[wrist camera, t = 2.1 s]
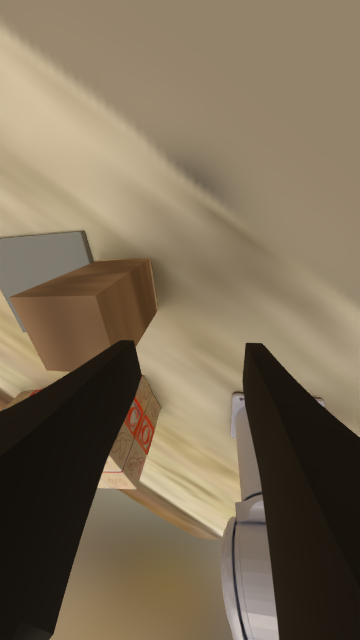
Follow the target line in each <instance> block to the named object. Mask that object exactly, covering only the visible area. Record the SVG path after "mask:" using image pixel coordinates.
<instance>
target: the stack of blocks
mask: <svg viewBox="0 0 360 640" xmlns="http://www.w3.org/2000/svg"><path fill="white" fill-rule="evenodd" d="M41 390H42V389H41ZM41 390H34V391H26V392H21V393H20V394H19V395H18V396H17V397H16V398H15V399H14V400H13V401H11V402H10V403H9V404H8V405H7V406H6V407H5V408H4V409H7V408H9V407H11V406H13V405H14V404H16V403H18V402H20V401H22V400H24V399H26V398H28V397H30V396H31V395H33V394H35V393H37V392H39V391H41ZM4 409H3V410H4ZM160 409H161V408H160V406H159V404H158V402H157V400H156V399H155V397H154V395H153V393H152V391H151V389H150V387H149V385H148V383H147V382H146V380H145V378H144V377H143V375H142V376H141V380H140V383H139V387H138V390H137V393H136V396H135V398H134V401H133V403H132V405H131V407H130V410H129V412H128V414H127V416H126V418H125V421H124V423H123V425H122V427H121V429H120V431H119V434H118V436H117V438H116V440H115V442H114V445H113V447H112V449H111V451H110V454H109V456H108V459H107V461H106V464H105V467H104V470H103V473H102V475H101V478H100V481H99V484H98V487H97V488H117V489H137V486H138V483H139V479H140V476H141V473H142V470H143V466H144V463H145V459H146V455H148V452H149V448H150V445H151V442H152V438H153V435H154V430H155V427H156V423H157V420H158V416H159V412H160Z"/></svg>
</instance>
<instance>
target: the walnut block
mask: <svg viewBox="0 0 360 640" xmlns="http://www.w3.org/2000/svg"><path fill="white" fill-rule="evenodd" d="M9 298H10V300H11V302H12V304H13V306H14V308H15V310H16V312H17V314H18V316H19V318H20V320H21V322H22V324H23V325H24V327H25V329H26V331H27V333H28V335H29V337H30V339H31V341H32V343H33V345H34V347H35V349H36V351H37V353H38V355H39V356H40V358H41V360H42V362H43V364H44V366H45V368H46V370H51V371H68V372H72V371H74V370H75V369H77V368H78V367H80V366H81V365H83V364H84V363H86V362H87V361H89V360H90V359H92V358H93V357H95V356H97V355H98V354H99V353H101V352H102V351H104V350H105V349H107V348H109V347H110V346H112V345H113V344H115V343H116V342H118V341H120V340H134V344H135V347H136V346H137V344H138V342H139V341H140V339H141V337H142V336H143V334H144V332H145V331H146V329H147V327H148V326H149V324H150V322H151V321H152V319H153V317H154V316H155V314H156V312H157V311H158V306H157V299H156V292H155V285H154V278H153V272H152V265H151V258H132V259H114V260H98V261H95V262H93V263H90V264H88V265H86V266H83V267H81V268H78V269H76V270H74V271H71V272H69V273H66V274H64V275H62V276H59V277H57V278H54V279H52V280H50V281H47V282H45V283H42V284H40V285H37V286H35V287H33V288H30V289H28V290H25V291H23V292H21V293H18V294H16V295H13V296H11V297H9Z"/></svg>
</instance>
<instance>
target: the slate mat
mask: <svg viewBox="0 0 360 640" xmlns="http://www.w3.org/2000/svg"><path fill="white" fill-rule="evenodd" d="M90 263H93V260H92V256H91V253H90V249H89V246H88V242H87V238H86V235H85V231H79V232H68V233H56V234H44V235H33V236H21V237H10V238H0V289H1V291H2V293H3V295H4V297H5V299H6V301H7V302H8V304H9V306H10V308H11V310H12V312H13V314H14V316H15V318H16V319H17V321H18V323H19V325H20V327H21V329H22V331H23V332H27V331H26V329H25V327H24V325H23V324H22V322H21V320H20V318H19V316H18V314H17V312H16V310H15V308H14V306H13V304H12V302H11V300H10V298H9V297H11V296H13V295H16V294H18V293H21V292H23V291H25V290H28V289H30V288H33V287H35V286H37V285H40V284H42V283H45V282H47V281H50V280H52V279H54V278H57V277H59V276H62V275H64V274H66V273H69V272H71V271H74V270H76V269H78V268H81V267H83V266H86V265H88V264H90Z"/></svg>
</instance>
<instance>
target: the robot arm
mask: <svg viewBox="0 0 360 640" xmlns="http://www.w3.org/2000/svg"><path fill="white" fill-rule="evenodd" d="M141 376H142V374H141V370H140V365H139V361H138V357H137V352H136V348H135V344H134V340H120V341H118V342H116V343H115V344H113V345H112V346H110V347H109V348H107V349H105V350H104V351H102V352H101V353H99V354H98V355H97V356H95V357H93V358H92V359H90V360H89V361H87V362H86V363H84V364H83V365H81V366H80V367H78V368H77V369H75V370H74V371H72V372H70V373H69V374H67V375H66V376H64V377H62V378H61V379H59V380H57V381H56V382H54V383H53V384H51V385H49V386H48V387H46V388H44V389H42V390H41V391H39V392H37V393H35V394H33V395H31V396H30V397H28V398H26V399H24V400H22V401H20V402H18V403H16V404H14V405H13V406H11V407H9V408H7V409H4V410H2V411H0V640H49V639H50V638H51V636H52V635H53V634H54V630H55V626H56V622H57V619H58V615H59V611H60V608H61V604H62V600H63V597H64V593H65V590H66V586H67V583H68V579H69V576H70V572H71V569H72V565H73V562H74V558H75V555H76V552H77V549H78V546H79V542H80V539H81V536H82V532H83V529H84V526H85V523H86V520H87V517H88V514H89V511H90V508H91V505H92V502H93V499H94V496H95V492H96V489H97V487H98V484H99V481H100V478H101V475H102V473H103V470H104V467H105V464H106V461H107V459H108V456H109V454H110V451H111V449H112V447H113V445H114V442H115V440H116V438H117V436H118V434H119V431H120V429H121V427H122V425H123V423H124V421H125V418H126V416H127V414H128V412H129V410H130V407H131V405H132V403H133V401H134V398H135V396H136V393H137V390H138V387H139V383H140V380H141ZM243 391H244V394H241V393H235V394H233V396H232V411H231V429H230V436H231V437H232V438H236V439H237V451H238V463H239V475H240V488H241V500H242V502H236V503H235V505H236V517H231V518H230V519H229V521H228V523H227V526H226V528H225V530H224V533H223V538H222V546H221V576H222V587H223V596H224V602H225V608H226V612H227V617H228V621H229V624H230V627H231V630H232V635H233V640H360V437H358V436H357V435H356V434H355V433H353V432H352V431H351V430H350V429H349V428H347V427H346V426H345V425H344V424H343V423H341V422H340V421H339V420H338V419H337V418H335V417H334V416H333V415H332V414H331V413H330V412H329V411H327V410H326V409H325V408H324V406H325V403H324V401H323V400H322V399H314V398H313V397H312V396H311V395H310V394H309V393H308V392H307V391H306V390H305V389H304V388H303V387H302V386H301V385H300V384H299V383H298V382H297V381H296V380H295V379H294V378H293V377H292V376H291V375H290V374H289V373H288V372H287V370H286V369H285V368H284V367H283V366H282V365H281V364H280V363H279V362H278V361H277V359H276V358H275V357H274V356H273V355H272V354H271V353H270V351H269V350H268V349H267V348H266V347H265V346H264V345H263V344H262V343H246V347H245V359H244V370H243Z"/></svg>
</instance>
